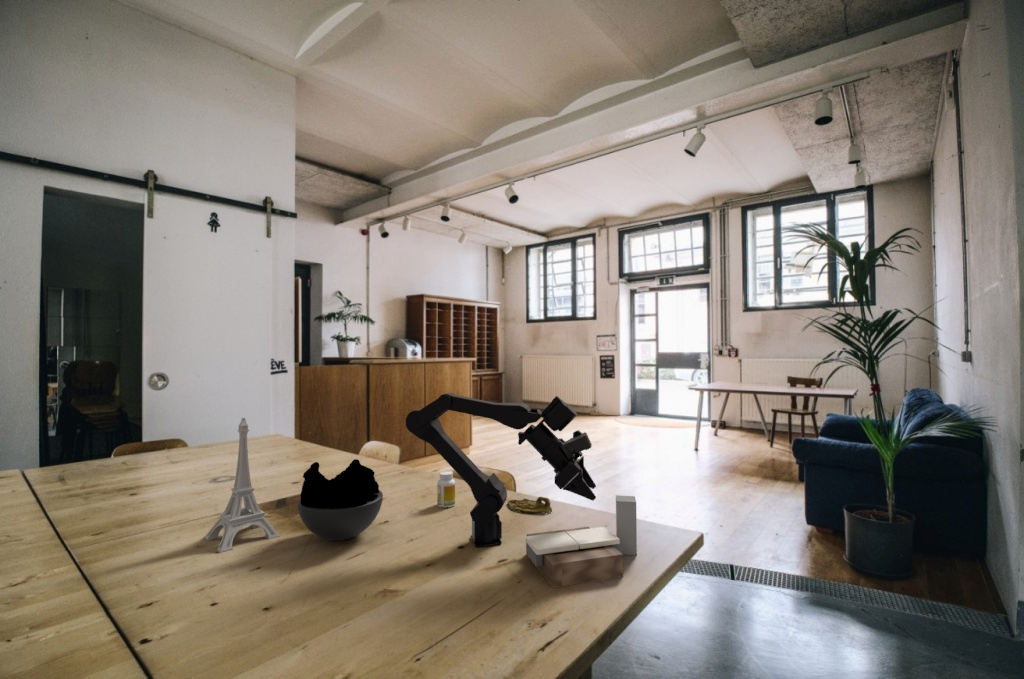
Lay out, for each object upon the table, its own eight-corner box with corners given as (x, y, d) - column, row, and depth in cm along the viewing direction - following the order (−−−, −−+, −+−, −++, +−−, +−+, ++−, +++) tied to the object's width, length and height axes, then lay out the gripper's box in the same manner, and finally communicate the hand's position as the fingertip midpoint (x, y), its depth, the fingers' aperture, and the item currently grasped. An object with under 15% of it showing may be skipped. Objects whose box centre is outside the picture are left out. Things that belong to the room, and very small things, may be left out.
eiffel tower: (203, 538, 118) (205, 418, 119) (260, 523, 128) (261, 413, 128) (220, 553, 109) (221, 423, 110) (280, 536, 119) (281, 417, 119)
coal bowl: (399, 530, 122) (399, 457, 123) (341, 561, 104) (342, 475, 105) (341, 518, 131) (341, 451, 131) (278, 545, 113) (279, 466, 113)
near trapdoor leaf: (536, 567, 96) (536, 550, 96) (525, 552, 103) (525, 536, 103) (578, 561, 99) (578, 544, 99) (564, 547, 106) (564, 531, 106)
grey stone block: (616, 553, 108) (616, 501, 108) (616, 546, 112) (615, 495, 112) (636, 555, 107) (636, 502, 107) (635, 547, 111) (634, 496, 111)
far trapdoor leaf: (603, 542, 108) (603, 526, 109) (619, 555, 101) (619, 539, 101) (566, 547, 106) (566, 531, 106) (580, 561, 99) (580, 544, 99)
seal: (499, 513, 139) (546, 521, 132) (498, 498, 138) (545, 505, 131) (514, 501, 147) (558, 508, 140) (513, 486, 147) (557, 492, 140)
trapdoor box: (552, 587, 92) (552, 564, 92) (526, 554, 107) (526, 534, 108) (623, 576, 97) (622, 554, 97) (588, 545, 112) (588, 526, 112)
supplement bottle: (458, 503, 144) (458, 471, 144) (450, 509, 139) (450, 475, 139) (442, 501, 146) (442, 470, 146) (434, 507, 141) (434, 474, 141)
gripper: (569, 427, 103) (621, 480, 101) (573, 416, 121) (617, 460, 119) (533, 462, 104) (584, 515, 102) (543, 446, 123) (586, 490, 120)
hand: (594, 493), depth 111 cm, fingers open, 9 cm apart
